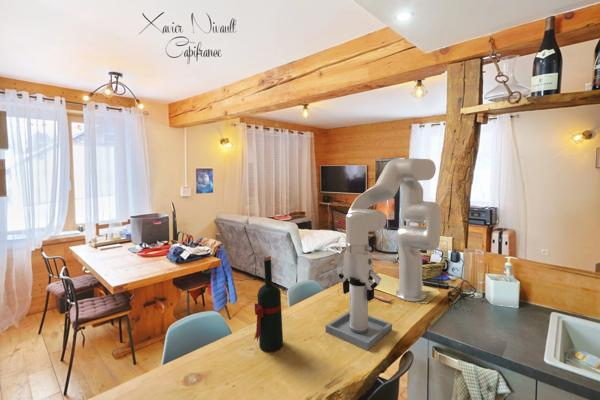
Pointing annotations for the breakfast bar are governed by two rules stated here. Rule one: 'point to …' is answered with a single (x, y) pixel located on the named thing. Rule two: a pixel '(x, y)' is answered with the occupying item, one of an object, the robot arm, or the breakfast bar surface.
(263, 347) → the wine bottle
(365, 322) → the travel mug
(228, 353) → the breakfast bar surface
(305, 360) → the breakfast bar surface
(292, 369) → the breakfast bar surface
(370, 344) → the tray
